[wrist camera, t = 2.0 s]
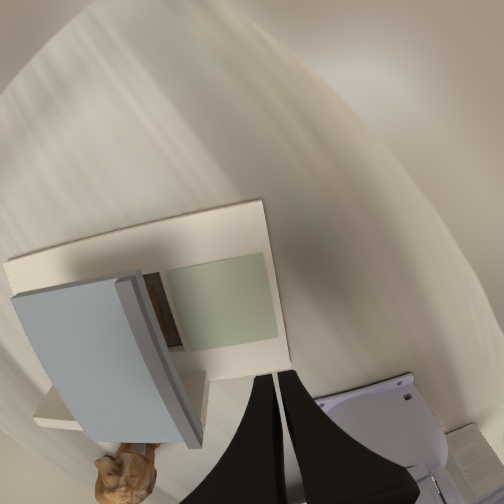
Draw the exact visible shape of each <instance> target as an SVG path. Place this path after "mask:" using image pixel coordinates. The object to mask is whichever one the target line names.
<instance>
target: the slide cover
mask: <svg viewBox="0 0 504 504" xmlns="http://www.w3.org/2000/svg"><path fill="white" fill-rule="evenodd" d="M11 301H12V304H13V306H14V308H15V311H16V313H17V315H18V318H19V320H20V322H21V324H22V327H23V329H24V331H25V333H26V335H27V337H28V339H29V341H30V343H31V345H32V347H33V349H34V351H35V353H36V355H37V357H38V359H39V361H40V362H41V364H42V366H43V368H44V370H45V371H46V373H47V375H48V377H49V378H50V380H51V382H52V383H53V385H54V387H55V388H56V390H57V392H58V393H59V395H60V397H61V398H62V400H63V401H64V403H65V404H66V406H67V407H68V409H69V411H70V412H71V413H72V415H73V416H74V418H75V419H76V421H77V422H78V424H79V425H80V426H81V428H82V429H83V431H84V432H85V433H86V435H87V436H88V437H89V439H90V440H91V441H103V442H123V443H174V442H185V443H186V445H187V447H188V449H201V448H202V442H203V432H204V431H203V429H202V427H201V425H200V423H199V421H198V418H197V416H196V414H195V412H194V410H193V407H192V405H191V403H190V401H189V398H188V396H187V394H186V392H185V389H184V387H183V384H182V382H181V380H180V377H179V375H178V372H177V370H176V368H175V365H174V363H173V360H172V358H171V355H170V352H169V350H168V347H167V345H166V342H165V339H164V337H163V334H162V331H161V329H160V326H159V323H158V320H157V317H156V315H155V312H154V309H153V306H152V303H151V300H150V297H149V294H148V291H147V288H146V285H145V282H144V279H143V276H142V272H141V269H140V268H139V269H134V270H129V271H124V272H119V273H114V274H109V275H104V276H99V277H94V278H89V279H84V280H79V281H74V282H69V283H64V284H59V285H54V286H50V287H45V288H40V289H35V290H30V291H25V292H20V293H17V294H16V295H15V296H14V297H12V298H11Z"/></svg>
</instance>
